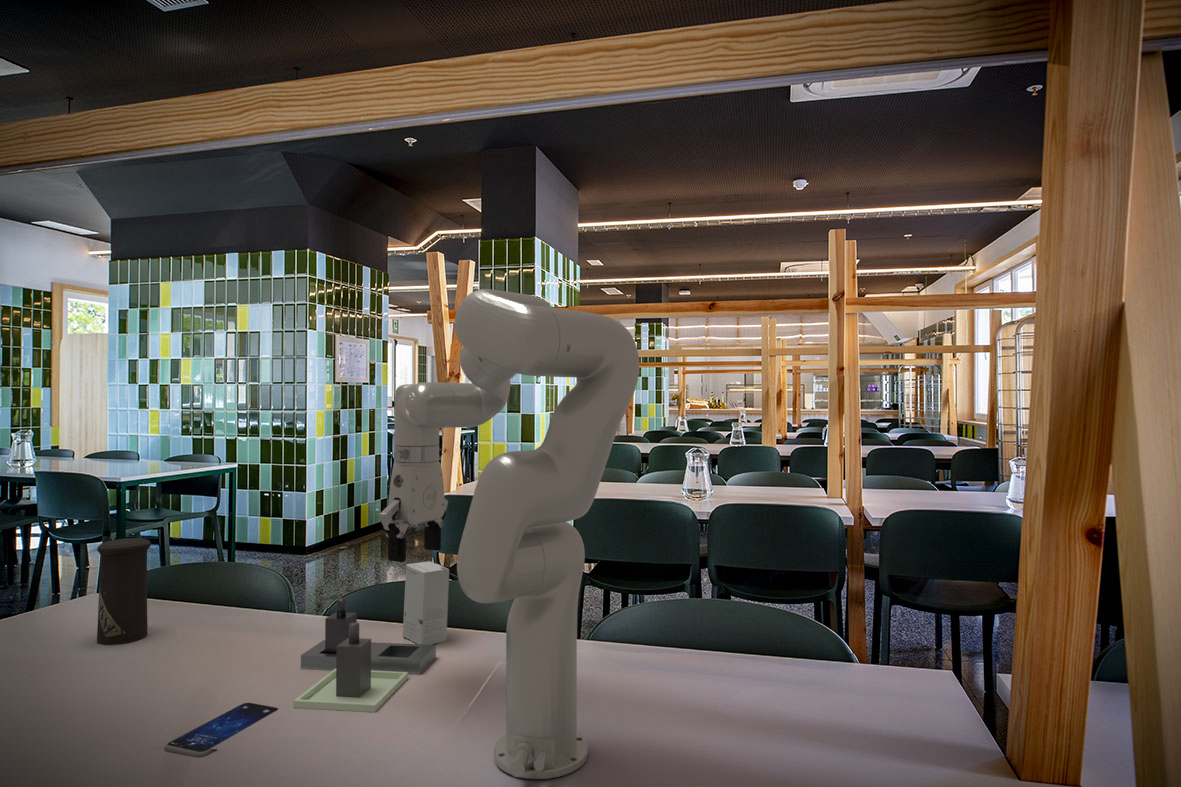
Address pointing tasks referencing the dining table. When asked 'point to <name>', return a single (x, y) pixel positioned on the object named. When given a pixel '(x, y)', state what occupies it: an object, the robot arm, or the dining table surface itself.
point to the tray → (370, 701)
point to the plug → (353, 665)
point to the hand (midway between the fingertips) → (415, 555)
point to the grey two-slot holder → (382, 654)
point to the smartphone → (218, 730)
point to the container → (122, 591)
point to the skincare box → (426, 603)
